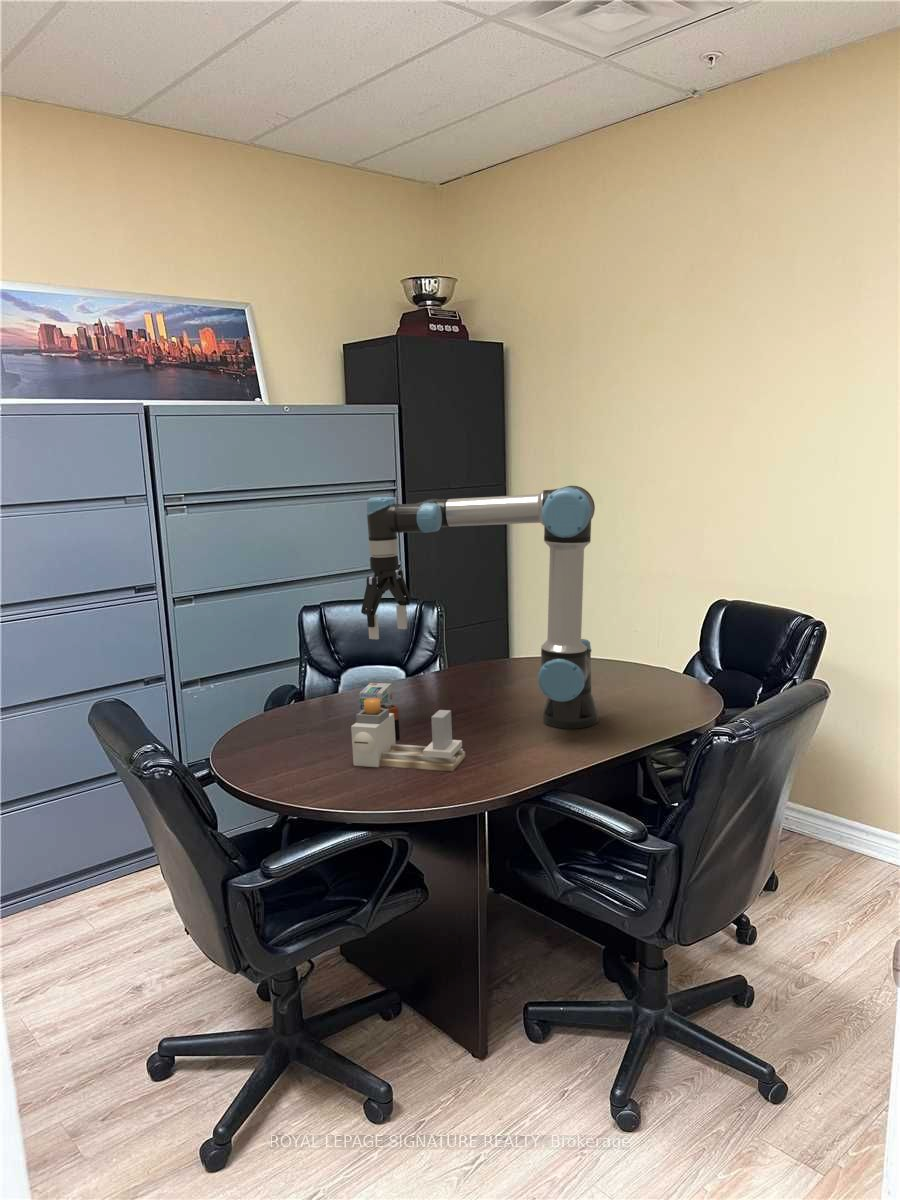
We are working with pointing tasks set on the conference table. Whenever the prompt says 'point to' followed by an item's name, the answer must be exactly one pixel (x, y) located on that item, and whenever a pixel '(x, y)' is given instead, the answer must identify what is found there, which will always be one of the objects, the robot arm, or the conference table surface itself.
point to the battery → (396, 717)
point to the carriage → (442, 737)
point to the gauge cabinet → (372, 737)
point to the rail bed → (419, 758)
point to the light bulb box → (377, 693)
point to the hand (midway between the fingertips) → (388, 633)
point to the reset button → (372, 706)
